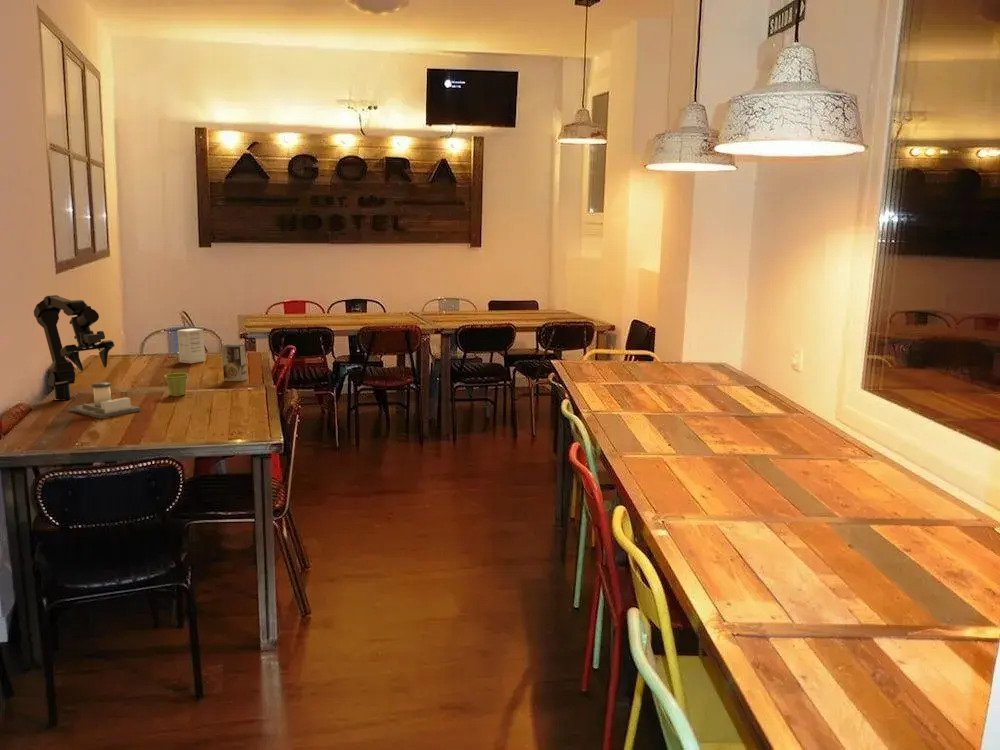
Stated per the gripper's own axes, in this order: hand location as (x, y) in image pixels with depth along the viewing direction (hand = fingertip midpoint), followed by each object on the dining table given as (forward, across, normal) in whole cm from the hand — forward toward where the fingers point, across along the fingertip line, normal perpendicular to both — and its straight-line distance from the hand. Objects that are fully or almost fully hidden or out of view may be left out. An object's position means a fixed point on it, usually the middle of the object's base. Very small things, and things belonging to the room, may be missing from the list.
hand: (94, 368), depth 319 cm
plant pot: (+16, +33, +5) cm, 37 cm away
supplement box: (-12, +83, +66) cm, 107 cm away
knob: (+15, 0, +1) cm, 15 cm away
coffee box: (+12, +68, +12) cm, 70 cm away
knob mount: (+17, 0, +1) cm, 17 cm away
